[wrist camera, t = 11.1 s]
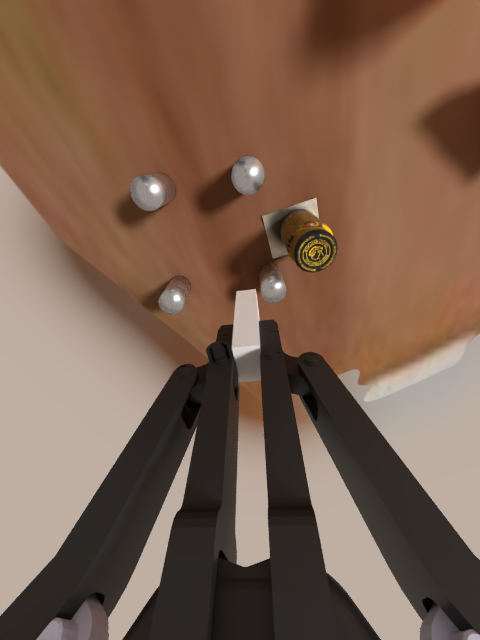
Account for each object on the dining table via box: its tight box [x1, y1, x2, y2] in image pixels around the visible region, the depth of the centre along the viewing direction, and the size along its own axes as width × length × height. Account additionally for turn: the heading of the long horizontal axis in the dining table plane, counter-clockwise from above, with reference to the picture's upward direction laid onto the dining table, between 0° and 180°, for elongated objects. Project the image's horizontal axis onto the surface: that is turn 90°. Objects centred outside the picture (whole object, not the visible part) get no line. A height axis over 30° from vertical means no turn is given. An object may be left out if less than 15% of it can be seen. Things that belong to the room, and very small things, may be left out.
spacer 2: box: [158, 276, 191, 314], centre depth 41 cm, size 4×4×7 cm
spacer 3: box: [231, 156, 265, 195], centre depth 31 cm, size 4×4×7 cm
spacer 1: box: [130, 173, 176, 211], centre depth 32 cm, size 4×4×7 cm
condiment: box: [262, 198, 338, 272], centre depth 33 cm, size 7×8×12 cm
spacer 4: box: [259, 264, 286, 303], centre depth 40 cm, size 4×4×7 cm
